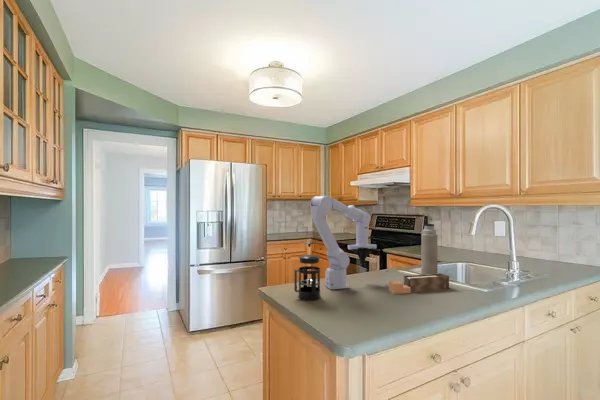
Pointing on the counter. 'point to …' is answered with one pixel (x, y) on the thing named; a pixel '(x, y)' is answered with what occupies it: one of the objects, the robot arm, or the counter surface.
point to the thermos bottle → (429, 250)
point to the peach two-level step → (398, 287)
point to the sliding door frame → (428, 282)
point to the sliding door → (407, 280)
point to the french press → (309, 287)
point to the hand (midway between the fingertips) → (362, 263)
